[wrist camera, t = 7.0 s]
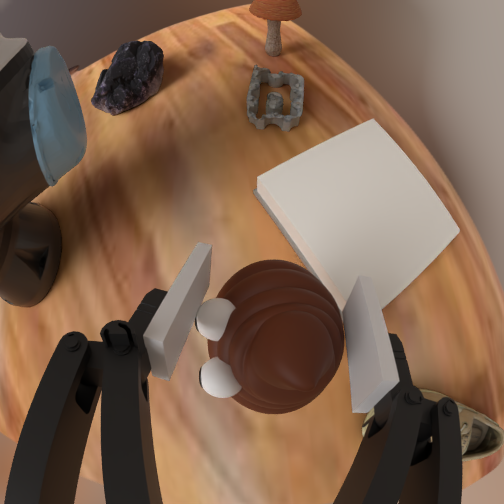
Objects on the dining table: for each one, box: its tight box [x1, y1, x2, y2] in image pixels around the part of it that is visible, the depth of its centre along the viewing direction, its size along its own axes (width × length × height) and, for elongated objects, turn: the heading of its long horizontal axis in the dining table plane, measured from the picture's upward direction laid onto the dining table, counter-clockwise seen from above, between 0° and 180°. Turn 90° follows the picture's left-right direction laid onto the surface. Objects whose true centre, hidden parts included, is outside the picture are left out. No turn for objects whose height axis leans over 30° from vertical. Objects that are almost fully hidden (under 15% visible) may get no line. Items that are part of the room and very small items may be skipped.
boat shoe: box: [362, 389, 504, 461], centre depth 20 cm, size 25×9×8 cm, turn 64°
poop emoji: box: [195, 260, 344, 414], centre depth 13 cm, size 10×8×9 cm
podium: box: [253, 119, 460, 322], centre depth 29 cm, size 19×19×4 cm
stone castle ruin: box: [247, 65, 304, 132], centre depth 33 cm, size 11×8×4 cm
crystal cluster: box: [91, 41, 164, 115], centre depth 32 cm, size 13×14×10 cm
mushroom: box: [249, 0, 302, 56], centre depth 31 cm, size 8×8×15 cm
